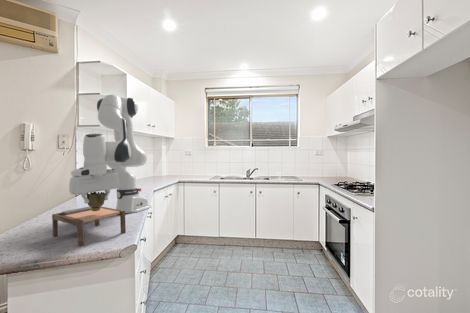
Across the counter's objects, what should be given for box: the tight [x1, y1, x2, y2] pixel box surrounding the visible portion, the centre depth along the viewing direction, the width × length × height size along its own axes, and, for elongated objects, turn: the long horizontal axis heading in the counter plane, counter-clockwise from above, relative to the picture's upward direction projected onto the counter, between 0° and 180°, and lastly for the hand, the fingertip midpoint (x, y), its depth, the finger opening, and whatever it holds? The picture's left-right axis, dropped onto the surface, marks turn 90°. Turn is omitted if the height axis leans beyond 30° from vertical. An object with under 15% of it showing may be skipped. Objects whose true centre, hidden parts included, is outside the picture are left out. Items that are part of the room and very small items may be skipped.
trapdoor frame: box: [51, 206, 127, 247], centre depth 114 cm, size 20×24×10 cm
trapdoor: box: [61, 206, 120, 222], centre depth 113 cm, size 16×21×2 cm
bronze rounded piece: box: [86, 191, 106, 211], centre depth 110 cm, size 8×7×8 cm
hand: (96, 201), depth 110 cm, fingers closed on bronze rounded piece, 6 cm apart
